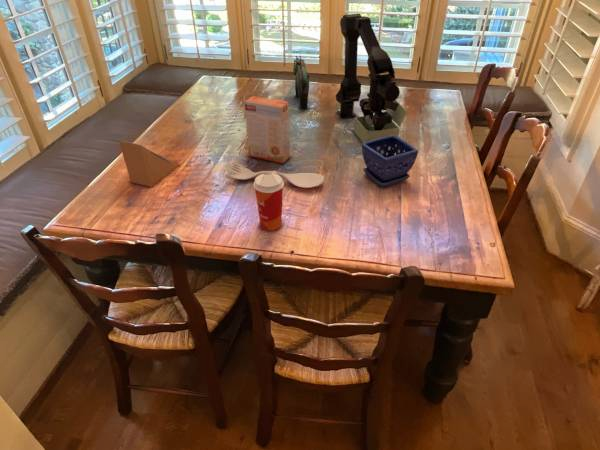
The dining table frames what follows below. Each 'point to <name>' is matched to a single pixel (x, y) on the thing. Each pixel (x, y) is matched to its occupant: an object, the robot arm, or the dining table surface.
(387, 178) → the flower pot
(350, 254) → the dining table surface
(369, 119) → the lighter
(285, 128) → the cracker box
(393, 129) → the carton
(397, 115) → the flap
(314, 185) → the spoon
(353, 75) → the robot arm
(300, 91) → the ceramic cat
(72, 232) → the dining table surface
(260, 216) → the coffee cup
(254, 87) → the dining table surface
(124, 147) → the sandwich container
